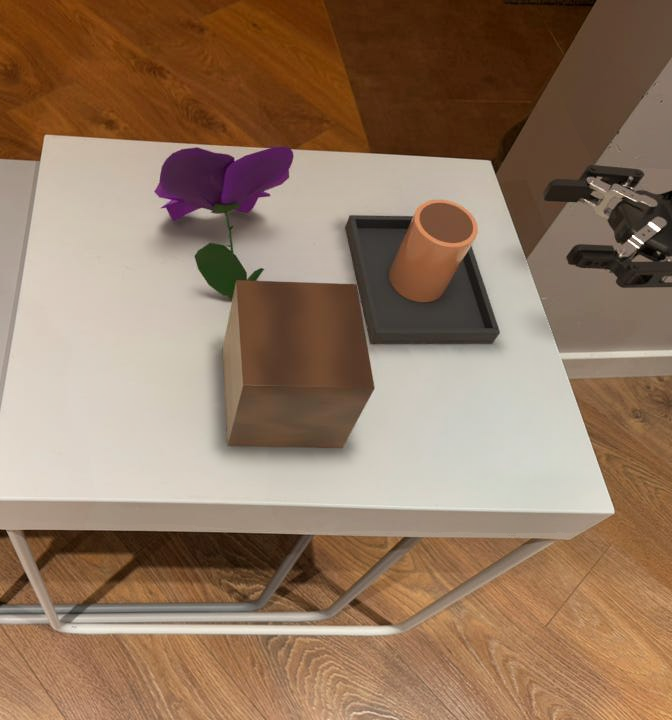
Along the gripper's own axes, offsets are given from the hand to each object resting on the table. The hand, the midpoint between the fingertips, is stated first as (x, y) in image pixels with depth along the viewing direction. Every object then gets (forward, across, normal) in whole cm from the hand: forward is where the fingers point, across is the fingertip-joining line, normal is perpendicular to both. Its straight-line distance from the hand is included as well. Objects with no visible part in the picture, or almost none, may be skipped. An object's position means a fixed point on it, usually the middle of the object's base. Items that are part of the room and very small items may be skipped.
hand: (558, 221), depth 76 cm
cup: (+11, -1, +11) cm, 15 cm away
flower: (+32, -4, +11) cm, 34 cm away
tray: (+11, -1, +11) cm, 15 cm away
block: (+27, +14, +11) cm, 32 cm away
